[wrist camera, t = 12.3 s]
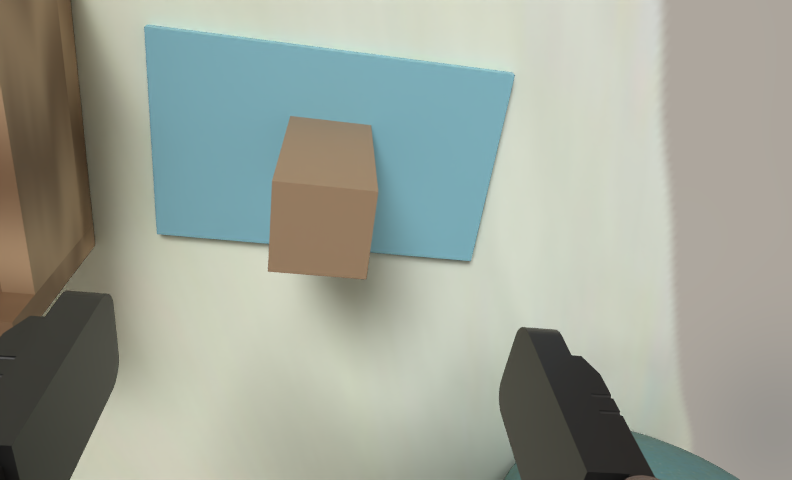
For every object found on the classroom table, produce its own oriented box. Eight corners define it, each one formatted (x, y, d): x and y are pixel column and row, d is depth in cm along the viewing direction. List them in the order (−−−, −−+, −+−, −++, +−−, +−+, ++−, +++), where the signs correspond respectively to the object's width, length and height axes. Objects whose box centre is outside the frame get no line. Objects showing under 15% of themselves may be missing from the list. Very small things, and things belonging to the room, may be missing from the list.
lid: (151, 22, 20) (71, 68, 14) (509, 69, 22) (568, 127, 16) (162, 224, 24) (102, 326, 18) (467, 251, 26) (503, 352, 20)
